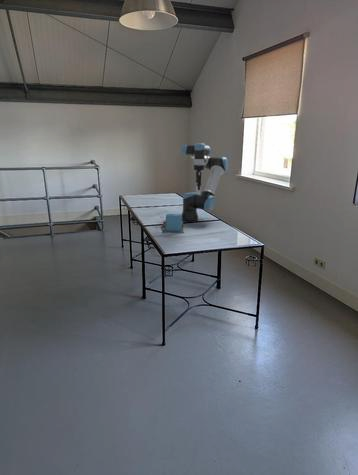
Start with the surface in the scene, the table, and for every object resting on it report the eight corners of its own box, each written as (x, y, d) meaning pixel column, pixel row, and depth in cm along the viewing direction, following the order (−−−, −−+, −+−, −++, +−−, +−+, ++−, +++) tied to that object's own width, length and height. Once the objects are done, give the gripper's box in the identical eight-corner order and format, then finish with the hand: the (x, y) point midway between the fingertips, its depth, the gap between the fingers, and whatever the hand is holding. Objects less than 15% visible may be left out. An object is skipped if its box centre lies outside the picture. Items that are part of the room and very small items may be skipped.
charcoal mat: (162, 228, 254) (162, 227, 254) (183, 229, 254) (183, 228, 254) (161, 232, 243) (161, 232, 243) (183, 233, 244) (183, 232, 243)
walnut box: (162, 224, 264) (162, 221, 263) (182, 225, 265) (182, 221, 264) (162, 228, 256) (162, 224, 255) (183, 228, 256) (183, 224, 255)
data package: (181, 229, 251) (182, 214, 247) (181, 231, 246) (182, 215, 243) (165, 229, 251) (165, 213, 247) (165, 230, 246) (165, 215, 243)
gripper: (193, 163, 259) (192, 189, 266) (194, 166, 236) (193, 195, 242) (202, 163, 260) (201, 190, 266) (205, 166, 236) (204, 195, 242)
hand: (197, 192), depth 254 cm, fingers open, 13 cm apart
